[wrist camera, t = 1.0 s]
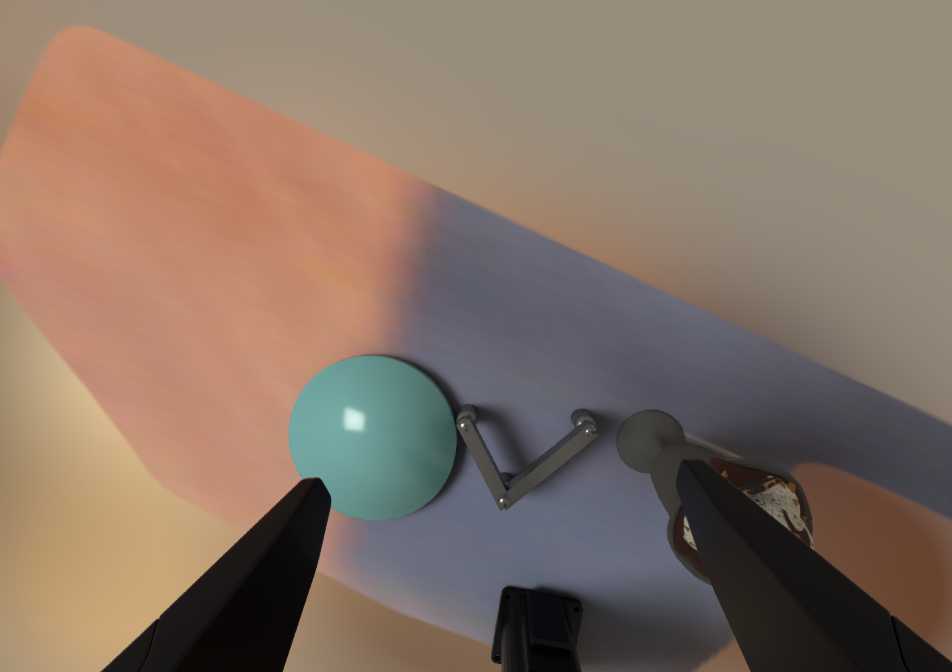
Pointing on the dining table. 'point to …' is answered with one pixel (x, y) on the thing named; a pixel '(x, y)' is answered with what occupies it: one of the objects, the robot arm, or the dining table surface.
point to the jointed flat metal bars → (514, 489)
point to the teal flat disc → (374, 436)
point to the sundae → (662, 449)
